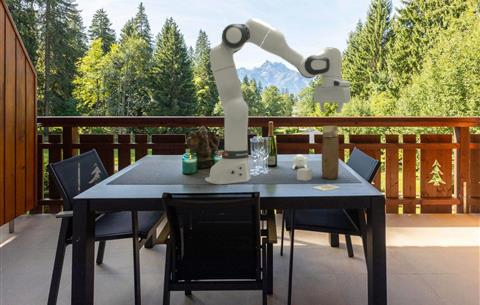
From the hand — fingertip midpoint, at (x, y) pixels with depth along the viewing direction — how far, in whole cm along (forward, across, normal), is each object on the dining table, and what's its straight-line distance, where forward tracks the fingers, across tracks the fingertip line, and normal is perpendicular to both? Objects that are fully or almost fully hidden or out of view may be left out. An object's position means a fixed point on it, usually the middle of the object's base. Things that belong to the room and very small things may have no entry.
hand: (330, 112), depth 180 cm
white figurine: (+32, -26, +5) cm, 42 cm away
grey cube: (+32, -4, -13) cm, 34 cm away
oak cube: (+12, 0, 0) cm, 12 cm away
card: (+32, +15, -18) cm, 39 cm away
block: (+32, 0, 0) cm, 32 cm away
